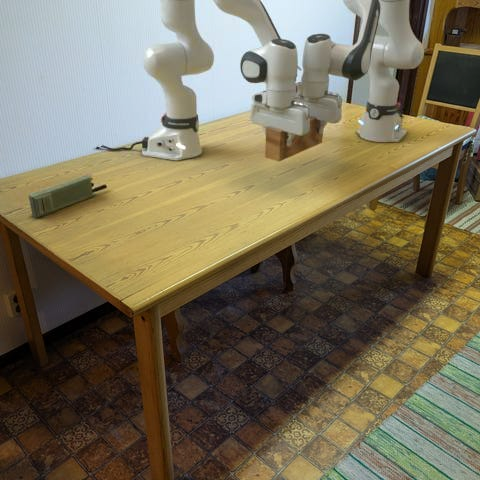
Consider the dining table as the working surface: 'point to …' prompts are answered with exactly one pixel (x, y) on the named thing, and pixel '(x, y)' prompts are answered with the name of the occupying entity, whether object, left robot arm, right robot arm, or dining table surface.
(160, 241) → the dining table surface
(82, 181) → the handheld radio
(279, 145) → the bar
